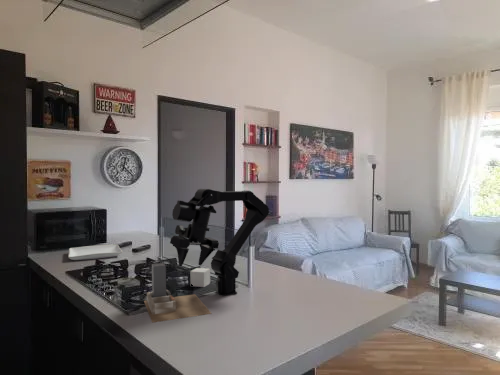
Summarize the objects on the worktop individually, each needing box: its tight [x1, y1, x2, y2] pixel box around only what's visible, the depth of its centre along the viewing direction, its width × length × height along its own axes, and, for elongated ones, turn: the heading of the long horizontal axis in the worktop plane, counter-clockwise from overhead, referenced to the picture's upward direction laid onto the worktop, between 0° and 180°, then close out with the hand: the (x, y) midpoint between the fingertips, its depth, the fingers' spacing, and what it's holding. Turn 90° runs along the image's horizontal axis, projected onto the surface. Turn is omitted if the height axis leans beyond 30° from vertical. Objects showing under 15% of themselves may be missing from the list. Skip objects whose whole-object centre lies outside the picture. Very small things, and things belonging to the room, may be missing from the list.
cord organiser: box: [143, 289, 212, 323], centre depth 120 cm, size 18×21×4 cm
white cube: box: [189, 267, 211, 288], centre depth 149 cm, size 6×6×6 cm
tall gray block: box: [151, 262, 167, 298], centre depth 124 cm, size 4×4×13 cm
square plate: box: [68, 243, 123, 261], centre depth 211 cm, size 27×27×4 cm
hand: (190, 265), depth 132 cm, fingers open, 9 cm apart
